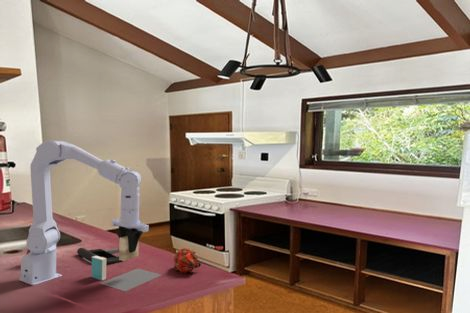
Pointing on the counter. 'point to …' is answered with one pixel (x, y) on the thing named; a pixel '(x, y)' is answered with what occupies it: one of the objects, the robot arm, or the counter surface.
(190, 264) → the dragon fruit
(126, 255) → the light wooden block
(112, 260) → the door handle
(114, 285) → the mat
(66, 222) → the counter surface
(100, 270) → the tile
